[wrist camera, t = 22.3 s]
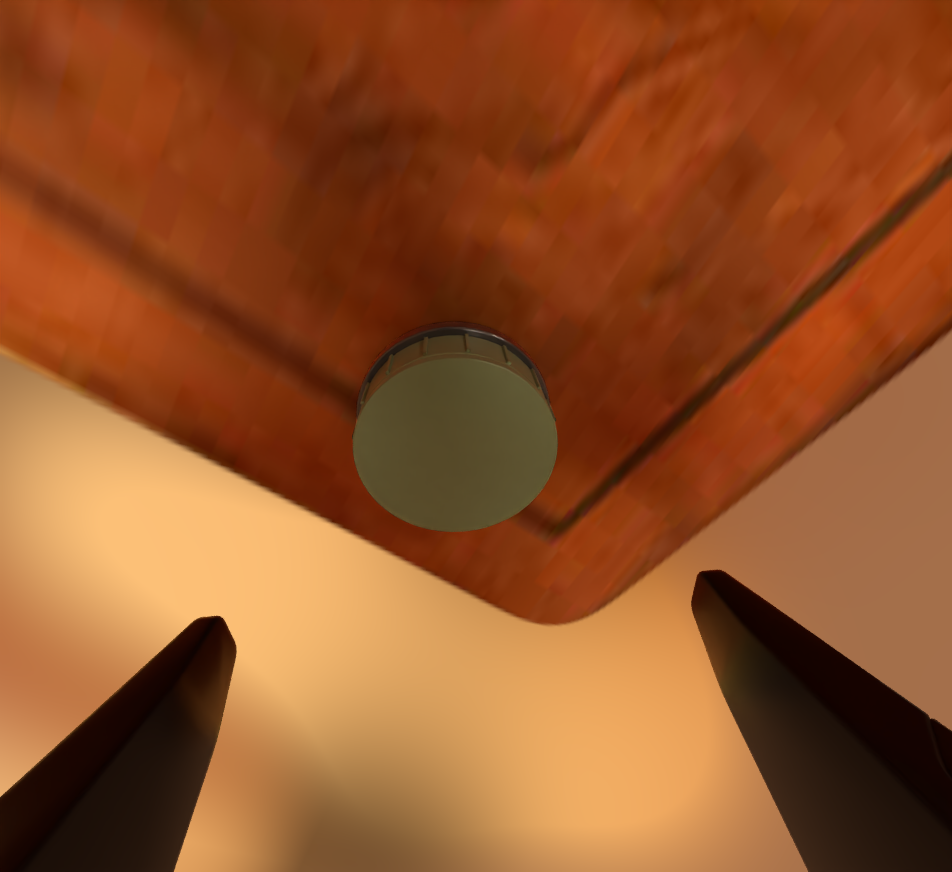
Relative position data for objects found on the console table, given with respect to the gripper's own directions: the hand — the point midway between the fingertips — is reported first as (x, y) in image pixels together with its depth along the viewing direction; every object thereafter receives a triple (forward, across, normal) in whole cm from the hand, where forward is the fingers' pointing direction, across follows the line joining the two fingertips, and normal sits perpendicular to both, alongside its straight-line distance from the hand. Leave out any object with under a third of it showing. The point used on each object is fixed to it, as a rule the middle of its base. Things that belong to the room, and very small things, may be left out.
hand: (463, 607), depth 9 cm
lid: (+6, 0, 0) cm, 6 cm away
